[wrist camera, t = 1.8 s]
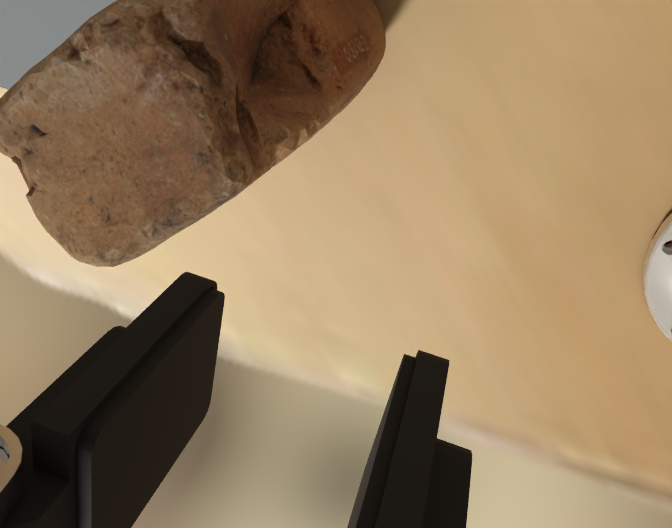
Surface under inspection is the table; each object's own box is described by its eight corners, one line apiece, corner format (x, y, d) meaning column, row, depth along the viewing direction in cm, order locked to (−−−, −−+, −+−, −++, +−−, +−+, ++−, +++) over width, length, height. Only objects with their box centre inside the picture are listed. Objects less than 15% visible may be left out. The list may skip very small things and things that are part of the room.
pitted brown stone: (260, 142, 38) (74, 305, 21) (193, 33, 36) (-78, 116, 19) (411, 56, 34) (332, 173, 17) (345, -74, 32) (173, -95, 14)
